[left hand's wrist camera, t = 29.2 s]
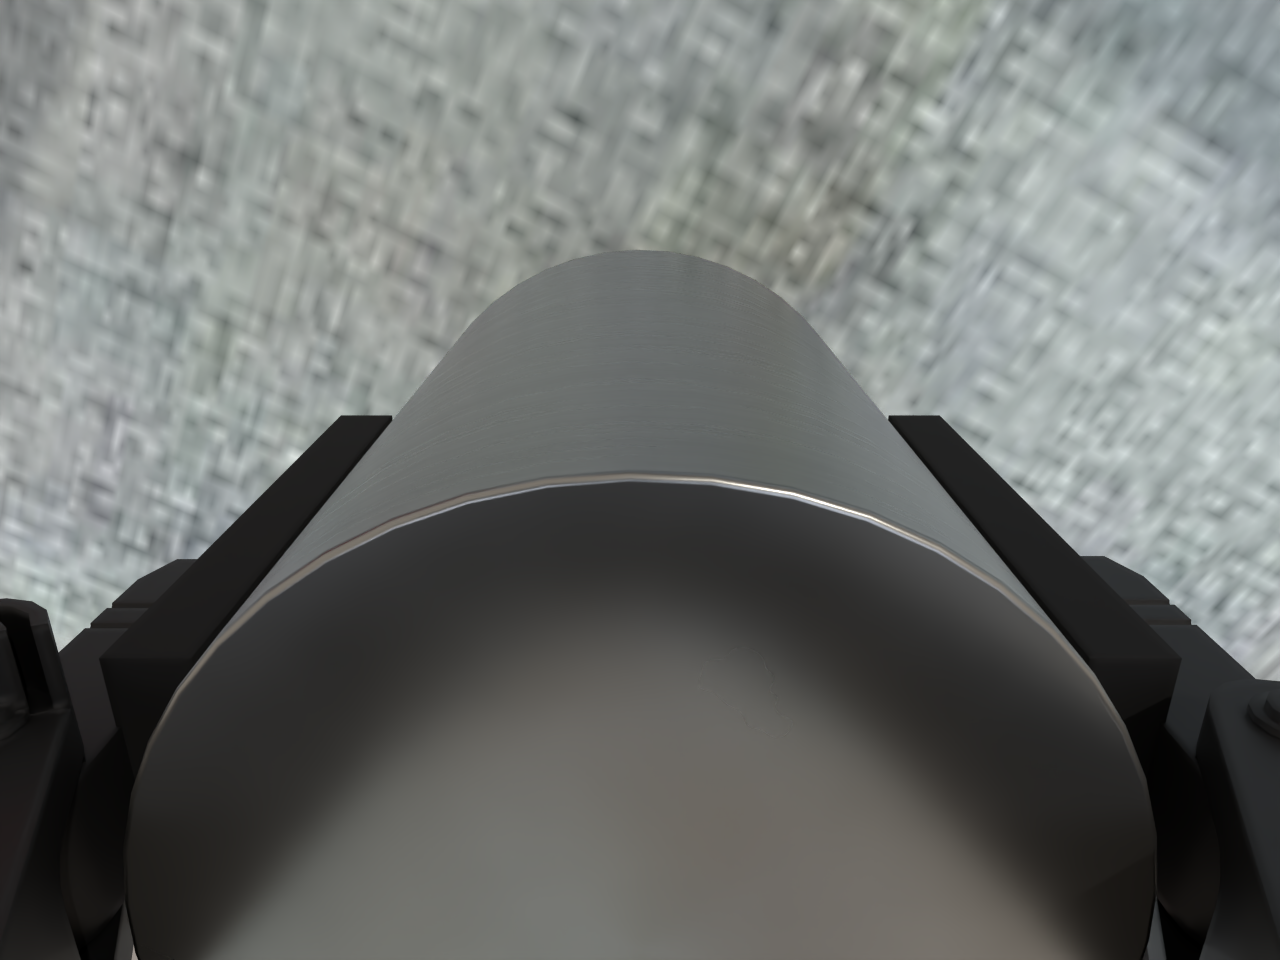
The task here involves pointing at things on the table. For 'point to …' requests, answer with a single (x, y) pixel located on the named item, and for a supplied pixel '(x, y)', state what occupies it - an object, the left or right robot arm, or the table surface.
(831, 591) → the tin
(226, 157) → the table surface
